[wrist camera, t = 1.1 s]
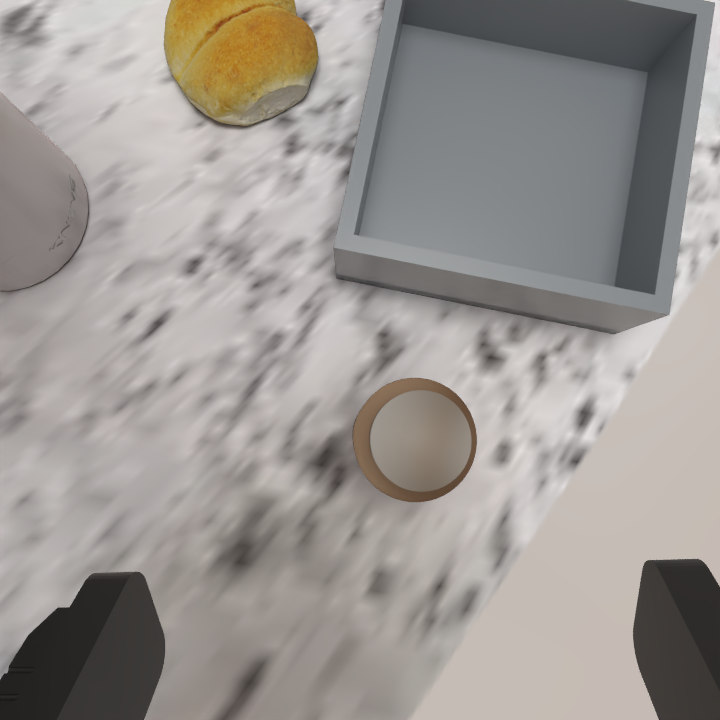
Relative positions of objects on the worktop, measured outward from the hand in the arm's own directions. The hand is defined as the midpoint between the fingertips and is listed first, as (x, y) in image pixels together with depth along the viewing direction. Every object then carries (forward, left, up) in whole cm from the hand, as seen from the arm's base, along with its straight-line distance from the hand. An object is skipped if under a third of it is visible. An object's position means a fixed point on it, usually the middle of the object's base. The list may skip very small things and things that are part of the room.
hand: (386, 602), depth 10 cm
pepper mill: (+1, +3, -24) cm, 24 cm away
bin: (+4, +19, -24) cm, 30 cm away
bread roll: (-12, +23, -24) cm, 35 cm away
